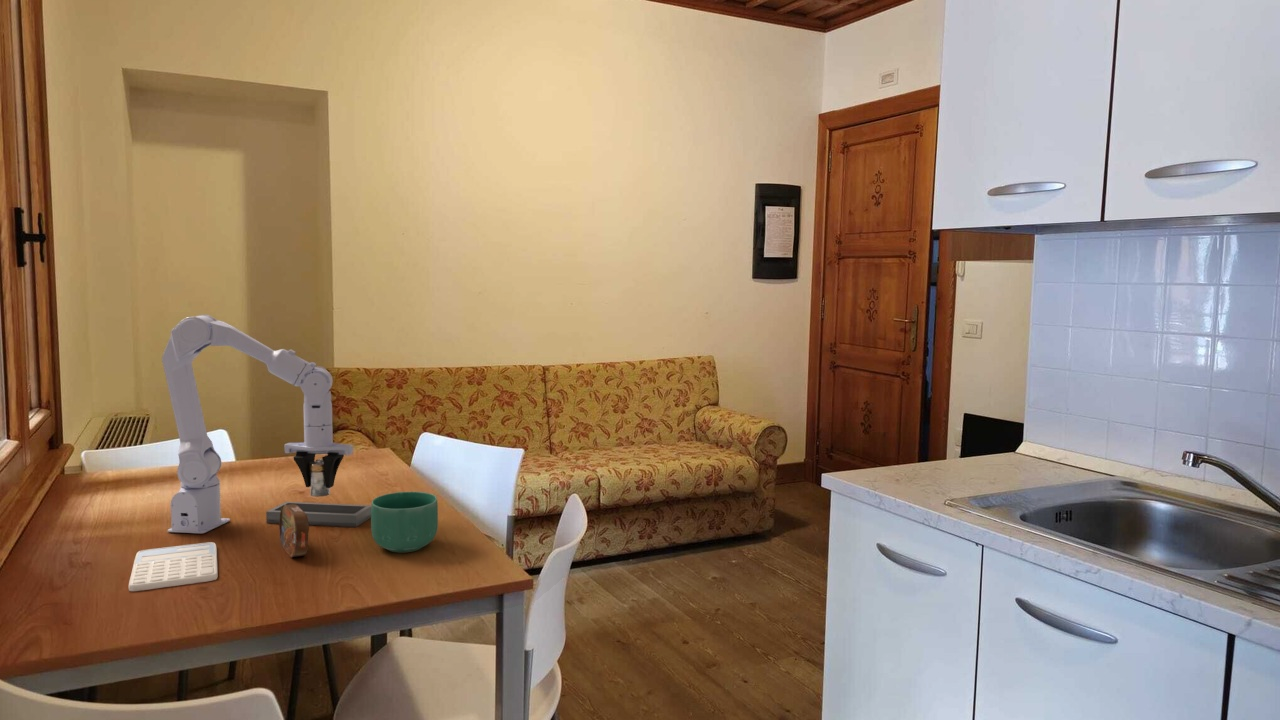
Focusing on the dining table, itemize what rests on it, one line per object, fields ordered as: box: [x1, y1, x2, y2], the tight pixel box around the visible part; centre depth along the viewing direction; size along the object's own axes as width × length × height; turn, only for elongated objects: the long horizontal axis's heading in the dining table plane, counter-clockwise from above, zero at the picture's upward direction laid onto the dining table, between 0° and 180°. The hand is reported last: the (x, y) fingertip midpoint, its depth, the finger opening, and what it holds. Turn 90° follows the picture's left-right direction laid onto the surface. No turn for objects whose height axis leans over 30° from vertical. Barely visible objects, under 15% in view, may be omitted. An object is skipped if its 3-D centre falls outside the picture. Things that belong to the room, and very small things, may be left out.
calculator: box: [128, 541, 219, 592], centre depth 149 cm, size 13×20×2 cm, turn 27°
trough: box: [265, 501, 371, 528], centre depth 180 cm, size 8×20×2 cm, turn 84°
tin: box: [278, 505, 310, 559], centre depth 159 cm, size 15×3×8 cm, turn 34°
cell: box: [309, 458, 331, 498], centre depth 179 cm, size 4×4×8 cm
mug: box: [370, 491, 439, 553], centre depth 164 cm, size 17×13×10 cm
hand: (319, 486), depth 179 cm, fingers closed on cell, 4 cm apart
